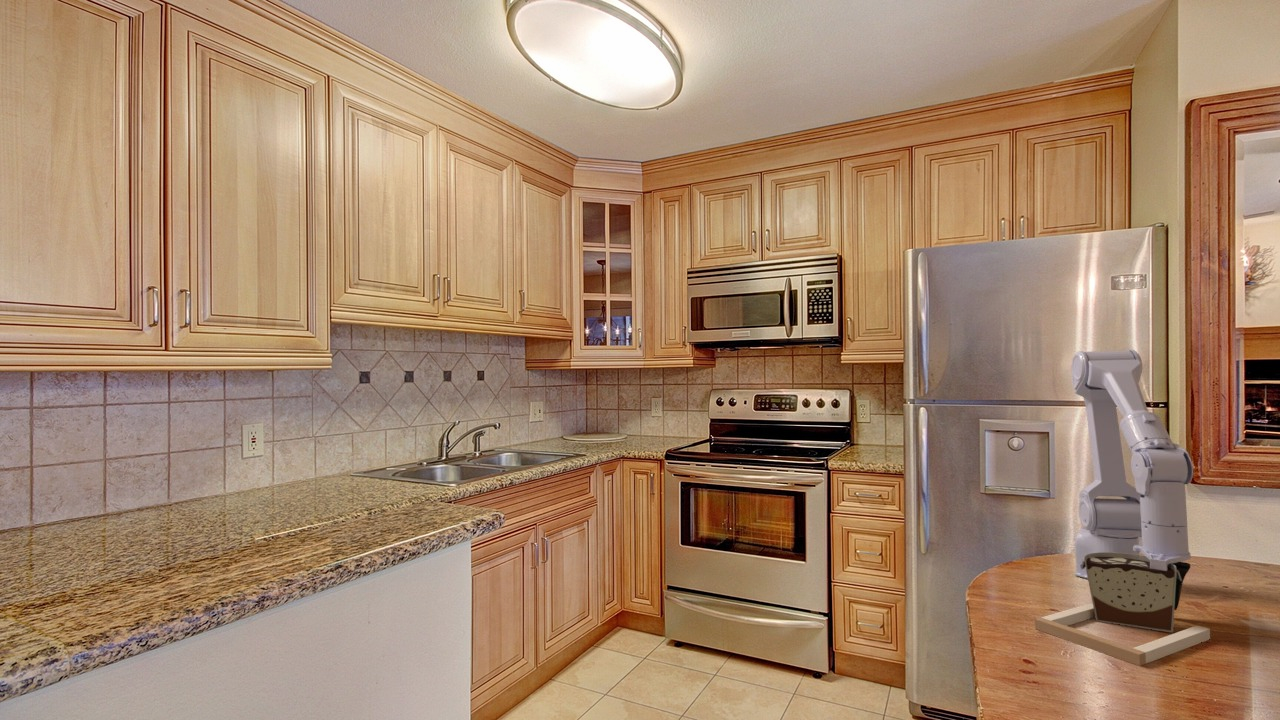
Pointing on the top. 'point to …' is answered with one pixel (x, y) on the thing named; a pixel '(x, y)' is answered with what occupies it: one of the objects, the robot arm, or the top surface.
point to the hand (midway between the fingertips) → (1168, 607)
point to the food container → (1131, 590)
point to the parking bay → (1137, 655)
